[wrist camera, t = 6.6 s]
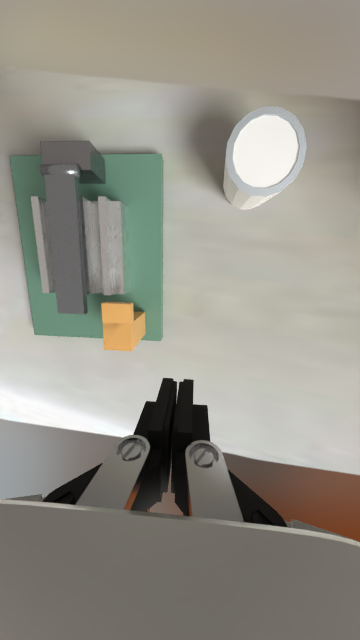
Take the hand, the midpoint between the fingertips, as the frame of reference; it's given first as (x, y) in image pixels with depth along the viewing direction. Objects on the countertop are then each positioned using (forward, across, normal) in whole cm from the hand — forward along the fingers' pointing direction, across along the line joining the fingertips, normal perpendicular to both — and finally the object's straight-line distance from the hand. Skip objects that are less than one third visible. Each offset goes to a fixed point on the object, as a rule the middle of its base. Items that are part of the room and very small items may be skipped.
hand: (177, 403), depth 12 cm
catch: (+17, +7, -1) cm, 18 cm away
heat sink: (+17, +13, -12) cm, 24 cm away
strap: (+13, +13, -9) cm, 20 cm away
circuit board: (+19, +13, -9) cm, 24 cm away
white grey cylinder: (+19, -6, -17) cm, 26 cm away
